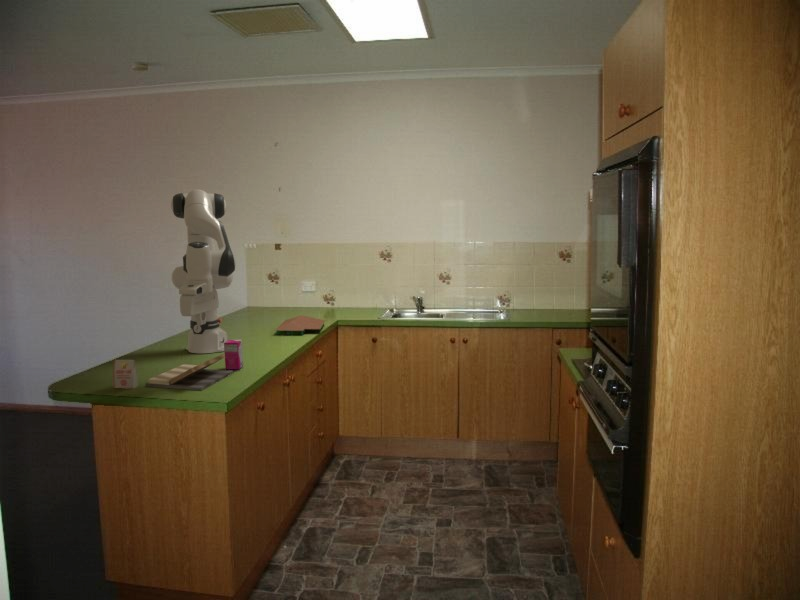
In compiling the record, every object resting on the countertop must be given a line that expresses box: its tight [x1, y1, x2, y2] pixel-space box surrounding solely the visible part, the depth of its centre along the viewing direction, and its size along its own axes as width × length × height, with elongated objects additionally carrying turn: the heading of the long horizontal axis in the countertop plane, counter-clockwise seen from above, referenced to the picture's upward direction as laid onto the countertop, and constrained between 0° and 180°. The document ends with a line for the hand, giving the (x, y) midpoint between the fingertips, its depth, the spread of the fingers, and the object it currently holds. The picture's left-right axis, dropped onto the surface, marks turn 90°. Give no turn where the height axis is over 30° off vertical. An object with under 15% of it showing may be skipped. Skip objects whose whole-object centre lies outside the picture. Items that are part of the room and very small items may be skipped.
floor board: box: [145, 363, 234, 392], centre depth 210 cm, size 23×22×3 cm
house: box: [274, 314, 327, 337], centre depth 307 cm, size 23×33×8 cm
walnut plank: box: [170, 353, 225, 384], centre depth 209 cm, size 22×10×2 cm, turn 169°
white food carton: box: [112, 359, 139, 390], centre depth 199 cm, size 4×7×10 cm, turn 91°
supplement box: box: [223, 339, 244, 371], centre depth 225 cm, size 6×6×12 cm
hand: (201, 324), depth 206 cm, fingers closed
